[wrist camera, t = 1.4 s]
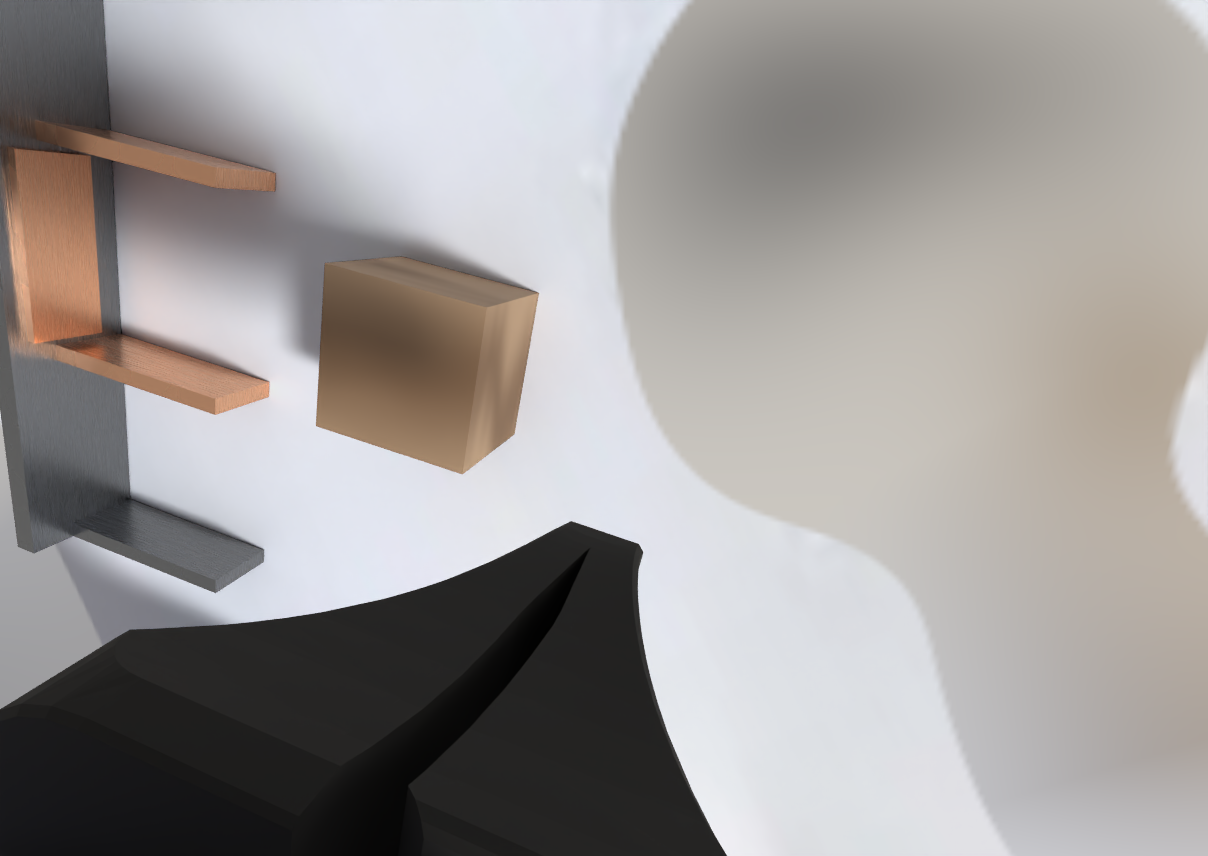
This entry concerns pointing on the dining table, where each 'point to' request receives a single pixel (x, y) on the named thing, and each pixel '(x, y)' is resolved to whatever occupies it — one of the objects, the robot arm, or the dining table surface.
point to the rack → (88, 304)
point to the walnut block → (422, 358)
